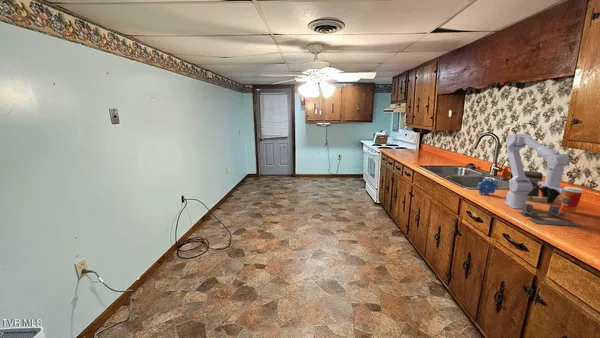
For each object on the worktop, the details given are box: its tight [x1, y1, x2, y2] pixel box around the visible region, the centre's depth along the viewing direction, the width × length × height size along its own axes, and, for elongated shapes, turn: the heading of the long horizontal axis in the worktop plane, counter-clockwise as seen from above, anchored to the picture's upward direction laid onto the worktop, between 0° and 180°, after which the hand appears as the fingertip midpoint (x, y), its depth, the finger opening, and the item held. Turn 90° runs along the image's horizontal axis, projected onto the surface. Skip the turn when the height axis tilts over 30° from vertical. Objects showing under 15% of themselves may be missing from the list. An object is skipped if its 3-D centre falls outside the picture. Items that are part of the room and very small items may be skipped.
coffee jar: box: [524, 170, 544, 197], centre depth 160 cm, size 10×8×19 cm
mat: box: [527, 218, 582, 228], centre depth 127 cm, size 6×20×1 cm, turn 82°
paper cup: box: [560, 186, 584, 214], centre depth 140 cm, size 8×8×14 cm
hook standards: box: [518, 203, 567, 219], centre depth 133 cm, size 7×18×6 cm, turn 82°
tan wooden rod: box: [526, 196, 571, 203], centre depth 130 cm, size 19×3×3 cm, turn 82°
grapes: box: [475, 177, 499, 196], centre depth 169 cm, size 12×7×12 cm, turn 56°
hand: (547, 201), depth 131 cm, fingers closed on tan wooden rod, 2 cm apart
